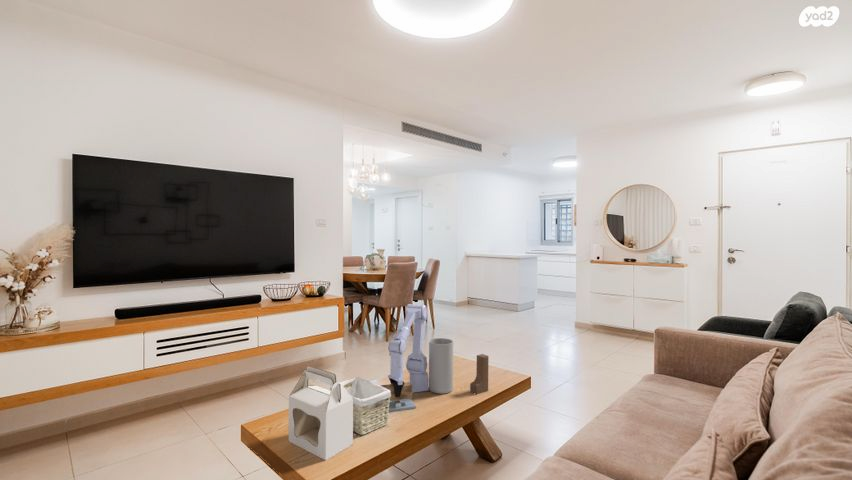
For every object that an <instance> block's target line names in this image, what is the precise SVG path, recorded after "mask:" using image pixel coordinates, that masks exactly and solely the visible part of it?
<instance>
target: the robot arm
mask: <svg viewBox="0 0 852 480" xmlns="http://www.w3.org/2000/svg"><path fill="white" fill-rule="evenodd" d="M427 318H428V309H427V306H426V305H425V304H423V305H422V304H413V303H408V304H407V305H406V307H405V318H404V320H403V323H402V325H401V326H399V327H398V329H397V331H396V334H395V335H394V338H393V339H391V340H390V341H389V342H388V347H387V348H388V349H387V351H388V353H389V357H390V373H389V374H388V375H387V378H388V379H389V382H390V384H393V387H394V392H395V397H400V395H401V391H402V388H403V386H404V383H405V381H404V352H405V350H406V345H407V339H408V338H409V336H410V333H411V332H410V328H411V327H412V325H413V326H414V327H413V338H412V350H411V351H412V353H409V355H408V356H407V359H406V363H405V367H406V370H407V371H408V372H407V373H409V382H410V383H411V385H412V394H413V393H419V392H420V393H421V392H428V391H430V390H429V372H428V371H427V368H428V362H427V356H426V355H425V354H424V353H422V352H423V342H424V341H423V340H424V338H423V337H424V325H425V322H426V321H427ZM413 323H414V324H413Z"/></svg>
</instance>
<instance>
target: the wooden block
mask: <svg viewBox="0 0 852 480" xmlns="http://www.w3.org/2000/svg"><path fill="white" fill-rule="evenodd" d="M486 390H488V391H489V355H487V354H484V353H481V354H477V355H476V376H475V379H474V380H473V381H471V382H470V385H469V391H470V393H472V394H474V393H475V394H474V395H479V394H482V393H484V392H483V391H485V392H487V391H486ZM481 392H482V393H481ZM478 393H479V394H478Z"/></svg>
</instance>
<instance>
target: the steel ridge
mask: <svg viewBox="0 0 852 480" xmlns="http://www.w3.org/2000/svg"><path fill="white" fill-rule="evenodd" d="M392 402H393V404H394V406H395V408H399V407H401V402H400V401H399V400H393V401H392Z"/></svg>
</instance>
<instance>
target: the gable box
mask: <svg viewBox="0 0 852 480" xmlns="http://www.w3.org/2000/svg"><path fill="white" fill-rule="evenodd" d="M303 370H304V371H303V372H302V375H301V377H300V379H299V380H298V381H297V383H296V384H295V386H294V388H293V390H291V392H290V394H289V396H288V442H289V443H291V444H293V445H295V446H297V447H299V448H301V449H303V450H305V451H307V452H309V453H310V454H313V455H314V456H316V457H318V458H320V459H322V460H324V461H327V460H329V459H330V458H332V457H334V456H336V455H337V454H339V453H341V452H342V451H344V450H346V449H347V448H350V447H351V446H353V445H354V431H353V399H352V397H351V396H350V395H349V393H348V392H347V391H348V390H347V389H346V388H344V387H343V385H342V384H341V383H340V382H341V381H339V382H338V381H337V376H336V374H335V373H333V372H330V371H327V370H323V369H320V368H317V367H314V366H311V365H308V366H307V368H306V369H303ZM315 381H317V382H319V383H323V384H325V385H328V386H332V389H331V391H330V389H326V388H325V387H321V386H318V385H317V384H316V383H315ZM339 402H340V403H339Z"/></svg>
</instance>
